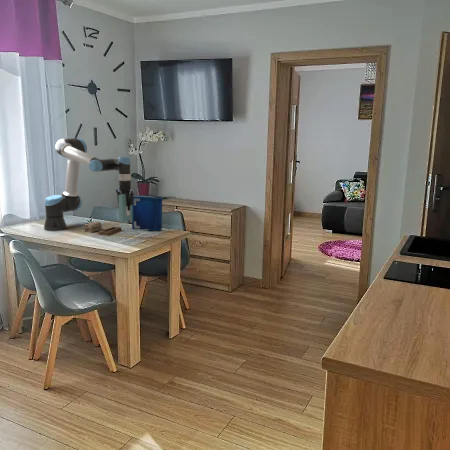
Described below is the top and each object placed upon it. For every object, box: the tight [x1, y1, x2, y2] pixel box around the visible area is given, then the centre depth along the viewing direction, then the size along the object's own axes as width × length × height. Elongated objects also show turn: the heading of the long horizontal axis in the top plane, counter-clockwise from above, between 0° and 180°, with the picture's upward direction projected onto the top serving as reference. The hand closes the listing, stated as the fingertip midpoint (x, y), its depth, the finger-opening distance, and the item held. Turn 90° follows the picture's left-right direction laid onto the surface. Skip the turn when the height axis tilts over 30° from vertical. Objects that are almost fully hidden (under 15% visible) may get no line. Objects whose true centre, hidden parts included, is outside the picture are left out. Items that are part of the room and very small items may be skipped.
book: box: [131, 194, 163, 232], centre depth 318 cm, size 22×7×25 cm, turn 84°
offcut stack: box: [83, 221, 104, 233], centre depth 310 cm, size 6×13×6 cm, turn 159°
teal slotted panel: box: [118, 194, 132, 223], centre depth 298 cm, size 2×12×18 cm, turn 159°
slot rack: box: [95, 226, 126, 237], centre depth 306 cm, size 12×19×3 cm, turn 159°
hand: (125, 214), depth 299 cm, fingers closed on teal slotted panel, 2 cm apart
